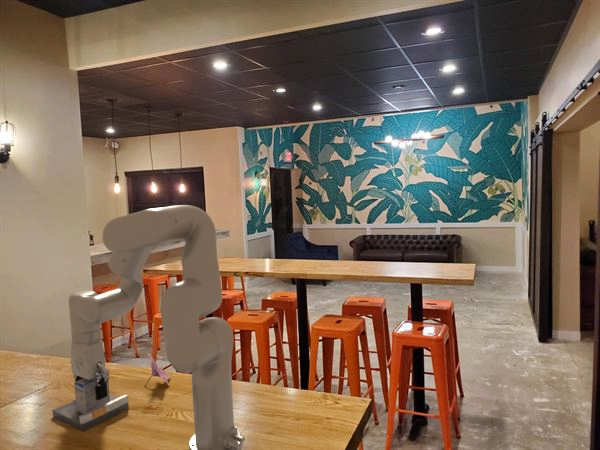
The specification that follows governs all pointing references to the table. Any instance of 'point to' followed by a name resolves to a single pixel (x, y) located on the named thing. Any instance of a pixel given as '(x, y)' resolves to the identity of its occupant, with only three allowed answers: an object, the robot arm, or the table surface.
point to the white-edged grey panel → (90, 413)
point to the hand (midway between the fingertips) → (91, 394)
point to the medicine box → (88, 395)
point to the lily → (157, 371)
